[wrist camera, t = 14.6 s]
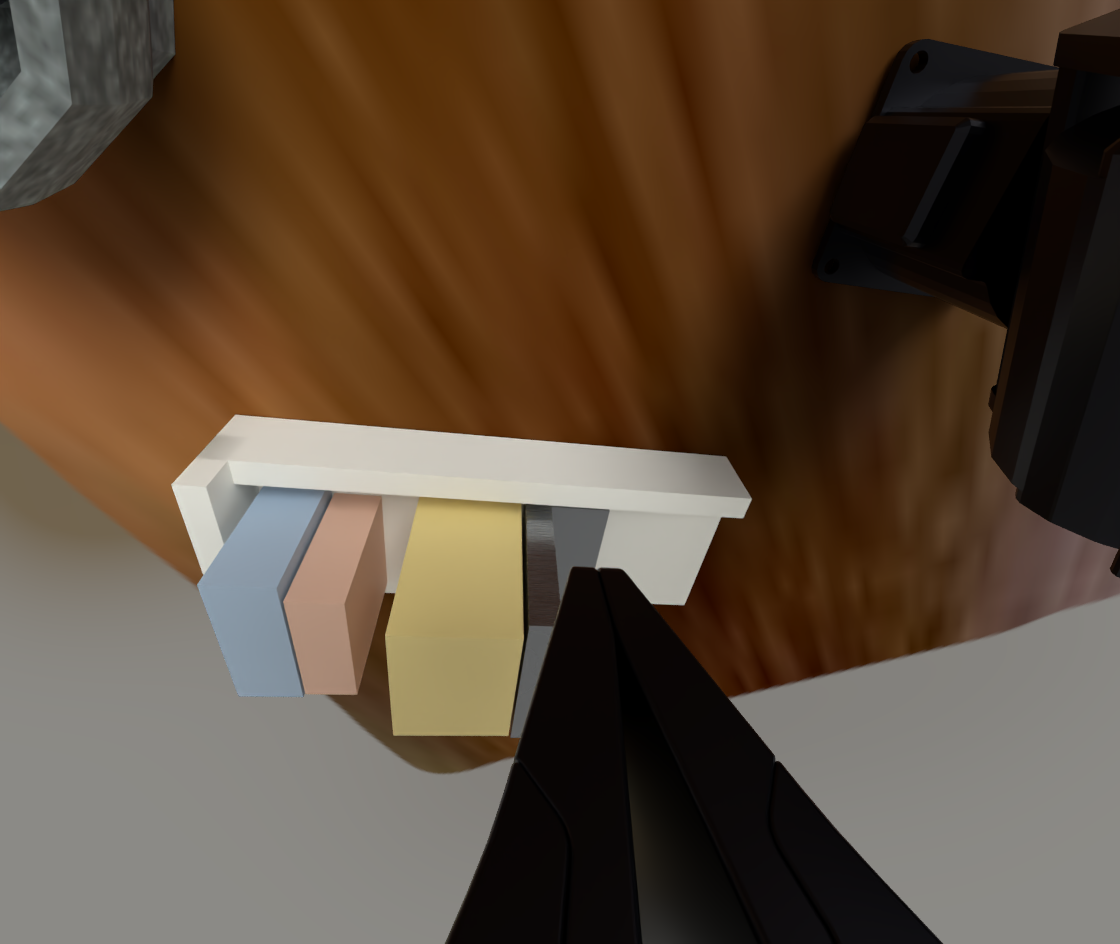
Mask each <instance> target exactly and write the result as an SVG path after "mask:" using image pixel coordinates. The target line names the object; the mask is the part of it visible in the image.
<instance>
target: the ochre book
mask: <svg viewBox="0 0 1120 944" xmlns="http://www.w3.org/2000/svg"><path fill="white" fill-rule="evenodd" d="M523 640H524V633H523V572H522V511H521V503H508V502H493V501H478V500H463V499H448V498H433V497H419V500H418V504H417V508H416V512H415V516H414V520H413V524H412V529H411V533H410V537H409V541H408V545H407V549H406V553H405V557H404V561H403V565H402V569H401V573H400V577H399V581H398V585H397V589H396V593H395V597H394V601H393V606H392V610H391V614H390V618H389V622H388V626H387V630H386V634H385V641H386V653H387V665H388V677H389V689H390V702H391V714H392V726H393V736H508V734H509V728H510V722H511V715H512V709H513V703H514V697H515V690H516V684H517V678H518V672H519V665H520V659H521V653H522V647H523Z"/></svg>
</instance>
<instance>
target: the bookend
mask: <svg viewBox="0 0 1120 944" xmlns="http://www.w3.org/2000/svg"><path fill="white" fill-rule="evenodd" d="M609 512H610V510H609V509H597V508H582V507H567V506H552V505H537V504H524V510H523V517H522V572H523V633H524V640H523V647H522V653H521V659H520V665H519V672H518V678H517V684H516V690H515V697H514V703H513V709H512V715H511V738H520V737H521V734H522V730H523V727H524V723H525V720H526V717H527V713H528V710H529V707H530V703H531V700H532V697H533V693H534V690H535V686H536V683H537V680H538V676H539V673H540V670H541V666H542V663H543V659H544V656H545V653H546V649H547V646H548V643H549V639H550V636H551V632H552V629H553V626H554V622H555V619H556V616H557V612H558V609H559V605H560V601H561V599H562V595H563V592H564V589H565V585H566V582H567V579H568V575H569V572H570V569H571V568H572V567H573V566H585V567H594V568H595V567H596V563H597V559H598V555H599V551H600V547H601V543H602V539H603V535H604V531H605V528H606V524H607V520H608V516H609Z"/></svg>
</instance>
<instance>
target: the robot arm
mask: <svg viewBox="0 0 1120 944" xmlns="http://www.w3.org/2000/svg"><path fill="white" fill-rule="evenodd" d="M916 53H917V54H918V56H919V63H918V66H917V67H916V69H915V70H914V71H913V72H911V71H910V68H909V65H910V61H911V59H912V57H913V56H914V54H916ZM1053 65H1054V66H1057V67H1053V66H1049V65H1044V64H1039V63H1035V62H1030V61H1026V60H1021V59H1017V58H1012V57H1008V56H1003V55H999V54H994V53H989V52H985V51H980V50H976V49H971V48H967V47H962V46H958V45H953V44H949V43H944V42H940V41H935V40H930V39H922V40H916V41H912V42H910V43H908V44H906V45H905V46H904V47H903V48H902V49H901V50H900V51H899V52H898V54H897V56H896V58H895V59H894V62H893V64H892V67H891V69H890V72H889V74H888V77H887V79H886V82H885V84H884V87H883V89H882V92H881V94H880V96H879V99H878V101H877V104H876V106H875V109H874V111H873V114H872V116H871V119H870V120H869V121H868V122H867V123H866V124H865V125H864V126H863V129H862V131H861V134H860V136H859V139H858V141H857V144H856V146H855V149H854V151H853V154H852V156H851V159H850V161H849V164H848V166H847V169H846V171H845V174H844V176H843V179H842V181H841V184H840V186H839V189H838V191H837V194H836V196H835V199H834V201H833V204H832V206H831V209H830V216H831V218H830V220H829V223H828V225H827V228H826V230H825V233H824V235H823V238H822V240H821V243H820V245H819V248H818V250H817V253H816V255H815V258H814V260H813V263H812V273H813V274H814V276H815V277H817V278H818V279H820V280H823V281H825V282H831V283H838V284H846V285H853V286H860V287H867V288H874V289H881V290H888V291H895V292H903V293H910V294H917V295H924V296H931V297H936V298H939V299H941V300H943V301H945V302H948V303H950V304H952V305H954V306H957V307H959V308H961V309H963V310H966V311H968V312H970V313H972V314H975V315H977V316H979V317H981V318H984V319H986V320H988V321H990V322H993V323H995V324H997V325H999V326H1002V327H1004V328H1006V329H1007V334H1006V339H1005V344H1004V349H1003V354H1002V359H1001V364H1000V369H999V374H998V380H997V385H994V386H993V387H992V388H991V393H990V398H989V403H988V404H989V407H990V409H991V410H992V412H993V413H992V418H991V423H990V428H989V440H990V449H991V457H992V458H993V460H994V461H995V462H996V464H997V465H998V466H999V467H1000V469H1001V470H1002V471H1003V473H1004V474H1005V475H1006V476H1007V478H1008V479H1009V480H1010V482H1011V483H1012V484H1013V485H1015V486H1016V487H1017V489H1016V499H1017V500H1018V501H1019V503H1021V504H1022V505H1024V506H1026V507H1027V508H1029V509H1030V510H1032V511H1033V512H1035V513H1036V514H1038V515H1040V516H1041V517H1043V518H1044V519H1046V520H1047V521H1049V522H1051V523H1053V524H1056V525H1058V526H1060V527H1062V528H1065V529H1067V530H1069V531H1071V532H1074V533H1076V534H1078V535H1081V536H1083V537H1085V538H1087V539H1090V540H1092V541H1094V542H1097V543H1100V544H1103V545H1106V546H1110V547H1113V548H1116V549H1119V550H1118V552H1117V554H1116V556H1115V558H1114V561H1113V563H1112V565H1111V567H1110V570H1111V572H1112V573H1113V574H1114V575H1115V576H1117V577H1119V578H1120V9H1118V10H1115V11H1113V12H1110V13H1108V14H1105V15H1102V16H1100V17H1097V18H1094V19H1092V20H1089V21H1086V22H1084V23H1081V24H1079V25H1076V26H1073V27H1071V28H1068V29H1065V30H1063V31H1061V32H1060V33H1059V38H1058V43H1057V48H1056V53H1055V58H1054V64H1053ZM1058 67H1059V68H1058ZM831 259H833V260H834V261H833V265H832V267H831V268H830V269H829V270H827V271H824V268H825V265H826V263H827V262H828V261H829V260H831ZM445 944H943V943H942V942H941V941H940V940H939V939H938V938H937V937H936V936H935V934H934V933H933V932H932V931H931V930H930V929H929V928H928V927H927V926H926V925H925V924H924V923H923V922H922V921H921V920H920V919H919V918H918V917H917V915H916V914H915V913H914V912H913V911H912V910H911V909H910V908H909V907H908V906H907V905H906V904H905V903H904V902H903V901H902V900H901V899H900V897H898V895H897V894H896V893H895V892H894V891H893V890H892V889H891V888H890V887H889V886H888V885H887V884H886V883H885V882H884V881H883V880H882V878H881V877H880V876H879V875H878V874H877V873H876V872H875V871H874V870H873V869H872V868H871V867H870V865H869V864H868V863H867V862H866V861H865V860H864V859H863V858H862V857H861V856H860V854H858V852H857V851H856V850H855V849H854V848H853V847H852V846H851V845H850V844H849V842H848V841H847V840H846V839H845V838H844V837H843V836H842V835H841V834H840V833H839V831H838V830H837V829H836V828H835V827H834V826H833V825H832V823H831V822H830V821H829V820H828V819H827V818H826V816H825V815H824V814H823V813H822V812H821V810H820V809H819V808H818V807H817V806H816V805H815V803H814V802H813V801H812V800H811V799H810V797H809V796H808V795H807V794H806V793H805V792H804V790H803V789H802V788H801V787H800V786H799V784H798V783H797V782H796V781H795V779H794V778H793V777H792V776H791V774H790V773H789V772H788V771H787V770H786V768H785V767H784V766H783V765H782V763H780V762H779V761H776V762H775V755H774V754H773V753H772V751H771V750H770V749H769V748H768V747H767V746H766V744H765V743H764V742H763V741H762V739H761V738H760V737H759V736H758V734H757V733H756V732H755V731H754V729H753V728H752V727H751V726H750V724H749V723H748V722H747V721H746V720H745V718H744V717H743V716H742V715H741V713H740V712H739V711H738V710H737V708H736V707H735V706H734V705H733V704H732V702H731V701H730V700H729V699H728V697H727V696H726V695H725V694H724V692H723V691H722V690H721V689H720V688H719V686H718V685H717V684H716V683H715V681H714V680H713V679H712V678H711V677H710V675H709V674H708V673H707V672H706V670H705V669H704V668H703V667H702V665H701V664H700V663H699V662H698V661H697V659H696V658H695V657H694V656H693V654H692V653H691V652H690V651H689V649H688V648H687V647H686V646H685V645H684V643H683V642H682V641H681V640H680V638H679V637H678V636H677V635H676V633H675V632H674V631H673V630H672V629H671V627H670V626H669V625H668V624H667V622H666V621H665V620H664V619H663V618H662V616H661V615H660V614H659V613H658V611H657V610H656V609H655V608H654V606H653V605H652V604H651V603H650V602H649V600H648V599H647V598H646V597H645V595H644V594H643V593H642V592H641V590H640V589H639V588H638V587H637V586H636V584H635V583H634V582H633V581H632V579H631V578H630V577H629V576H628V574H627V573H626V572H625V571H624V570H622V569H620V568H605V567H601V568H598V569H597V570H596V568H594V567H585V566H573V567H572V568H571V569H570V572H569V575H568V579H567V582H566V585H565V589H564V592H563V595H562V599H561V602H560V605H559V609H558V612H557V616H556V619H555V622H554V626H553V629H552V632H551V636H550V639H549V643H548V646H547V649H546V653H545V656H544V659H543V663H542V666H541V670H540V673H539V676H538V680H537V683H536V686H535V690H534V693H533V697H532V700H531V703H530V707H529V710H528V713H527V717H526V720H525V723H524V727H523V730H522V734H521V737H520V740H519V744H518V747H517V750H516V754H515V757H514V763H513V764H512V766H511V770H510V773H509V776H508V780H507V783H506V787H505V790H504V793H503V797H502V799H501V803H500V806H499V809H498V811H497V814H496V817H495V821H494V824H493V826H492V829H491V832H490V836H489V838H488V841H487V844H486V846H485V849H484V851H483V854H482V856H481V859H480V861H479V864H478V866H477V869H476V871H475V874H474V876H473V879H472V881H471V884H470V886H469V889H468V891H467V894H466V896H465V898H464V901H463V903H462V905H461V908H460V910H459V912H458V914H457V917H456V919H455V921H454V924H453V926H452V929H451V931H450V933H449V935H448V938H447V940H446V942H445Z"/></svg>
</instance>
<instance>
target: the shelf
mask: <svg viewBox="0 0 1120 944" xmlns="http://www.w3.org/2000/svg"><path fill="white" fill-rule="evenodd" d="M171 485H172V488H173V491H174V494H175V497H176V499H177V502H178V505H179V508H180V511H181V513H182V516H183V519H184V522H185V525H186V527H187V530H188V533H189V536H190V539H191V541H192V544H193V547H194V550H195V553H196V555H197V558H198V561H199V564H200V567H201V569H202V572H203V577H202V578H201V580H200V581H199V583H198V584H197V586H198V589H199V592H200V594H201V597H202V599H203V602H204V605H205V608H206V610H207V613H208V616H209V619H210V621H211V624H212V626H213V629H214V632H215V635H216V637H217V640H218V643H219V645H220V648H221V651H222V653H223V656H224V659H225V661H226V664H227V667H228V669H229V672H230V675H231V678H232V680H233V683H234V686H235V688H236V691H237V694H238V696H251V697H254V696H256V697H304V694H333V695H357V694H358V690H359V686H360V682H361V679H362V675H363V671H364V668H365V664H366V660H367V656H368V653H369V649H370V645H371V642H372V638H373V634H374V630H375V627H376V623H377V619H378V616H379V612H380V608H381V605H382V601H383V597H384V593H396V589H397V585H398V581H399V577H400V573H401V569H402V565H403V561H404V557H405V553H406V549H407V545H408V541H409V537H410V533H411V529H412V524H413V520H414V516H415V512H416V508H417V504H418V500H419V497H433V498H448V499H463V500H478V501H493V502H508V503H521V511H522V517H523V510H524V504H537V505H552V506H567V507H582V508H597V509H609V510H610V512H609V516H608V520H607V524H606V528H605V531H604V535H603V539H602V543H601V547H600V551H599V555H598V559H597V563H596V567H595V568H596V570H597V569H598V568H601V567H605V568H620V569H622V570H624V571H625V572H626V573H627V574H628V576H629V577H630V578H631V579H632V581H633V582H634V583H635V584H636V586H637V587H638V588H639V589H640V590H641V592H642V593H643V594H644V595H645V597H646V598H647V599H648V600H649V602H650V603H651V604H670V605H685V602H686V600H687V598H688V595H689V593H690V590H691V588H692V586H693V583H694V581H695V578H696V576H697V574H698V571H699V569H700V567H701V564H702V562H703V559H704V557H705V555H706V552H707V550H708V547H709V545H710V543H711V540H712V538H713V536H714V533H715V531H716V528H717V526H718V524H719V521H720V519H721V517H730V518H744V515H745V513H746V511H747V509H748V506H749V504H750V502H751V500H752V498H751V496H750V495H749V493H748V492H747V490H746V488H745V487H744V485H743V483H742V482H741V480H740V478H739V477H738V475H737V474H736V472H735V470H734V469H733V467H732V465H731V464H730V462H729V460H728V459H727V457H726V456H714V455H702V454H691V453H679V452H667V451H655V450H644V449H632V448H620V447H609V446H597V445H585V444H573V443H562V442H550V441H538V440H526V439H515V438H503V437H491V436H479V435H468V434H456V433H444V432H432V431H421V430H409V429H397V428H385V427H374V426H362V425H350V424H338V423H327V422H315V421H303V420H291V419H280V418H268V417H256V416H244V415H235V416H234V417H233V418H232V419H231V420H230V421H229V422H228V423H227V424H226V426H225V427H224V428H223V429H222V430H221V431H220V432H219V433H218V434H217V435H216V436H215V438H214V439H213V440H212V441H211V442H210V443H209V444H208V445H207V446H206V447H205V448H204V450H203V451H202V452H201V453H200V454H199V455H198V456H197V457H196V458H195V459H194V460H193V462H192V463H191V464H190V465H189V466H188V467H187V468H186V469H185V470H184V471H183V472H182V474H181V475H180V476H179V477H178V478H177V479H176V480H175V481H174V482H173V483H172V484H171Z"/></svg>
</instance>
